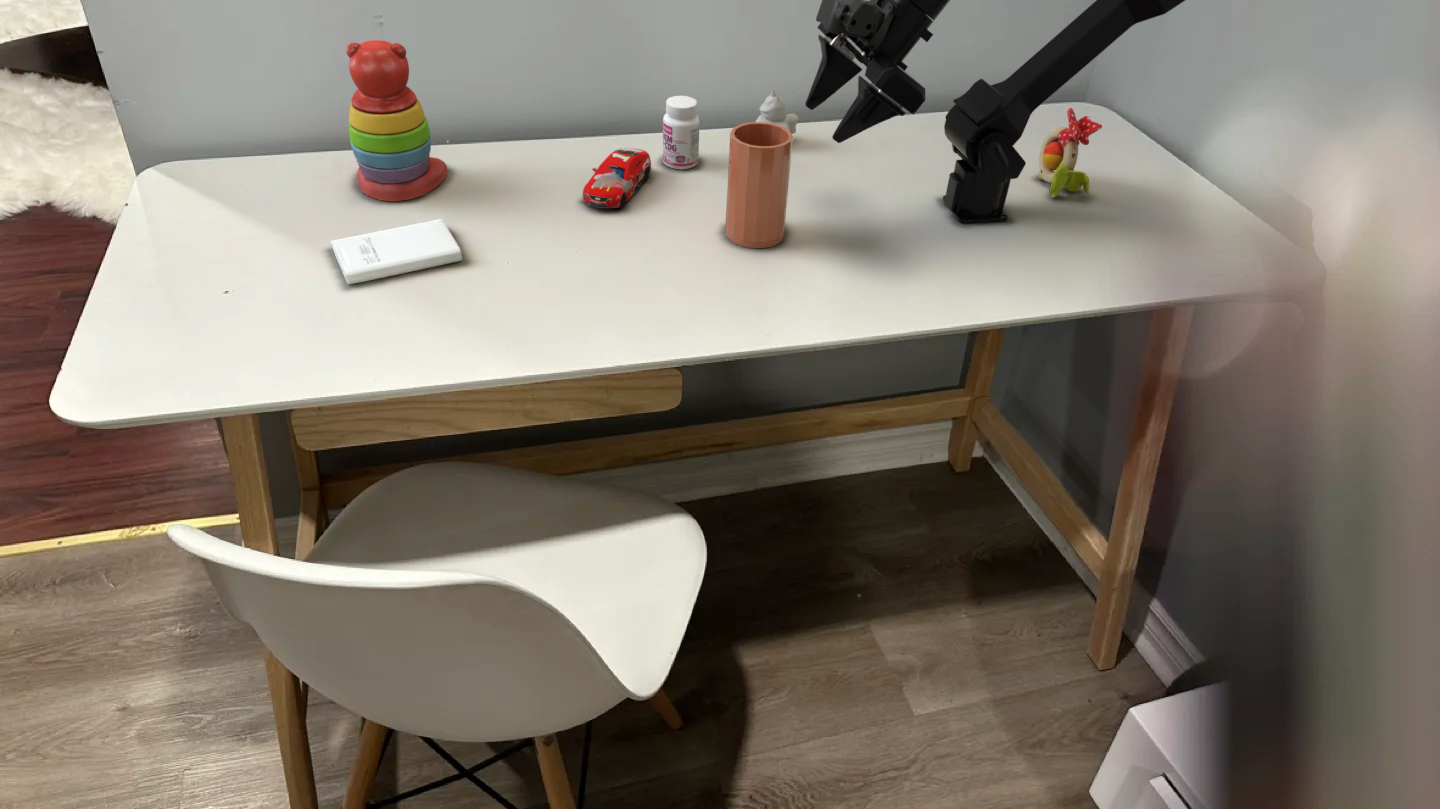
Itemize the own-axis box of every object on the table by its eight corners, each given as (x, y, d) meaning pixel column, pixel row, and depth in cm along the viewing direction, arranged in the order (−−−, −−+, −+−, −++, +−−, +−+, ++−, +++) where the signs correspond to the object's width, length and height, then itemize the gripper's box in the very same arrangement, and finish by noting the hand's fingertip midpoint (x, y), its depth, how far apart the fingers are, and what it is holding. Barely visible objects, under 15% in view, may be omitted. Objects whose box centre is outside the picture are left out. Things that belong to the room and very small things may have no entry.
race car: (617, 217, 121) (616, 187, 118) (576, 208, 122) (574, 178, 120) (658, 172, 131) (658, 143, 128) (620, 164, 132) (619, 136, 129)
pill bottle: (656, 165, 132) (656, 104, 127) (671, 152, 136) (672, 91, 130) (689, 173, 131) (690, 111, 125) (703, 159, 134) (706, 98, 129)
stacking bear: (450, 167, 129) (431, 27, 118) (435, 204, 121) (413, 58, 110) (366, 164, 129) (338, 24, 118) (345, 201, 121) (313, 55, 110)
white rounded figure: (745, 137, 140) (748, 81, 135) (788, 132, 142) (793, 77, 137) (759, 153, 136) (764, 96, 131) (803, 148, 138) (809, 92, 133)
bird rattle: (1019, 197, 134) (1060, 200, 126) (1019, 111, 131) (1062, 109, 122) (1059, 192, 136) (1102, 196, 127) (1060, 107, 132) (1105, 105, 124)
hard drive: (463, 262, 111) (348, 286, 106) (442, 229, 117) (332, 250, 112) (461, 250, 110) (345, 273, 105) (441, 217, 116) (330, 238, 111)
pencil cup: (776, 218, 122) (784, 121, 114) (789, 246, 117) (799, 146, 109) (720, 221, 121) (725, 123, 113) (731, 250, 116) (737, 148, 108)
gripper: (830, -64, 109) (745, 56, 115) (896, -13, 95) (795, 121, 101) (898, -6, 115) (813, 105, 121) (969, 50, 101) (870, 172, 107)
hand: (821, 123), depth 113 cm, fingers open, 9 cm apart
